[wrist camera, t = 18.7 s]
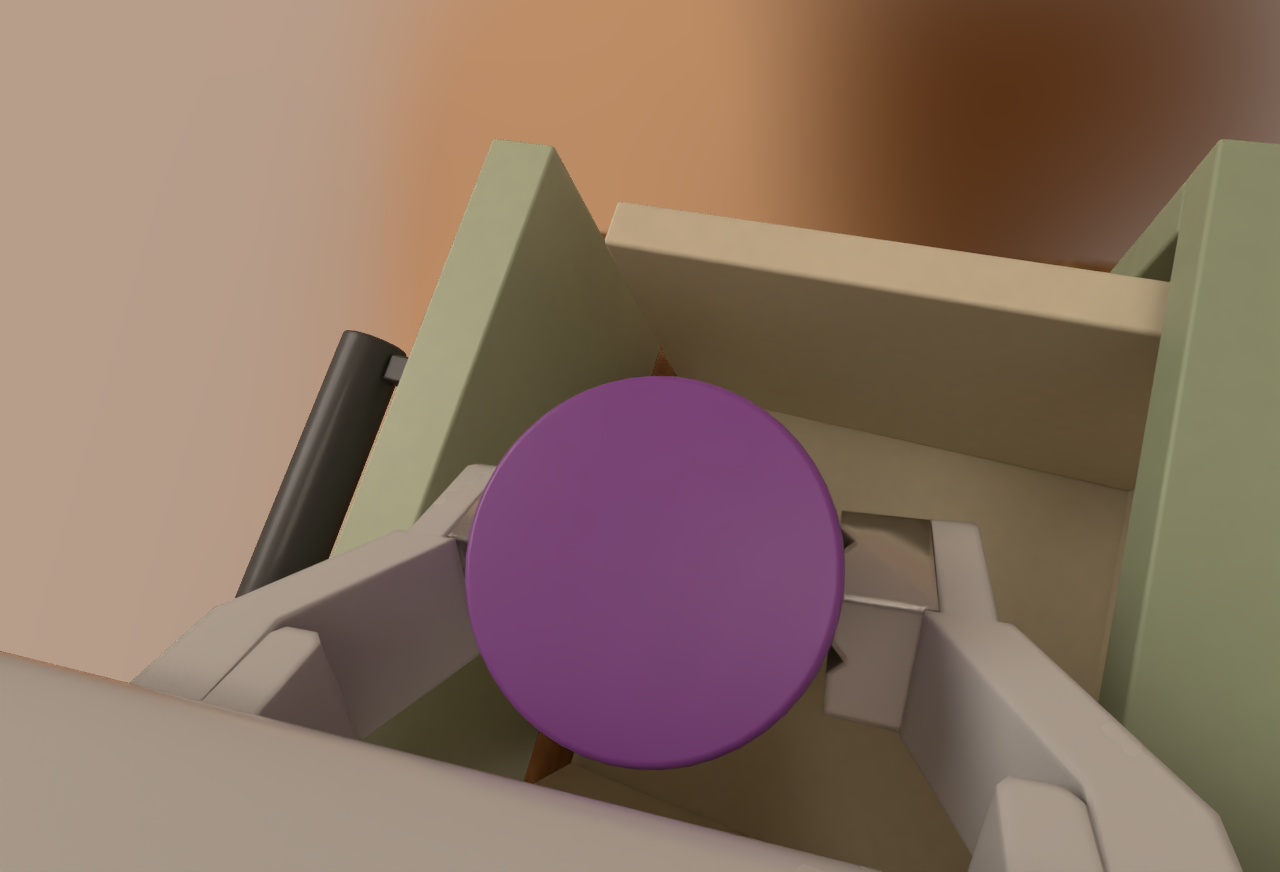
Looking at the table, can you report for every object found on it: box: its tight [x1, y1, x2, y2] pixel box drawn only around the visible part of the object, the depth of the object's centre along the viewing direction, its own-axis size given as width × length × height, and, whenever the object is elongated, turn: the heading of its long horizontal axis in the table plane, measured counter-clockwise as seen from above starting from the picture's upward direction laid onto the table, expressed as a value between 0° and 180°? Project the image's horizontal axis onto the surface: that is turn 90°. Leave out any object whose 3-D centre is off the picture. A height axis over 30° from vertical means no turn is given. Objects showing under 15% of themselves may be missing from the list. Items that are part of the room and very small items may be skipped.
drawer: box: [235, 139, 1170, 872], centre depth 14 cm, size 18×12×9 cm
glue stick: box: [465, 376, 845, 770], centre depth 10 cm, size 3×3×8 cm
